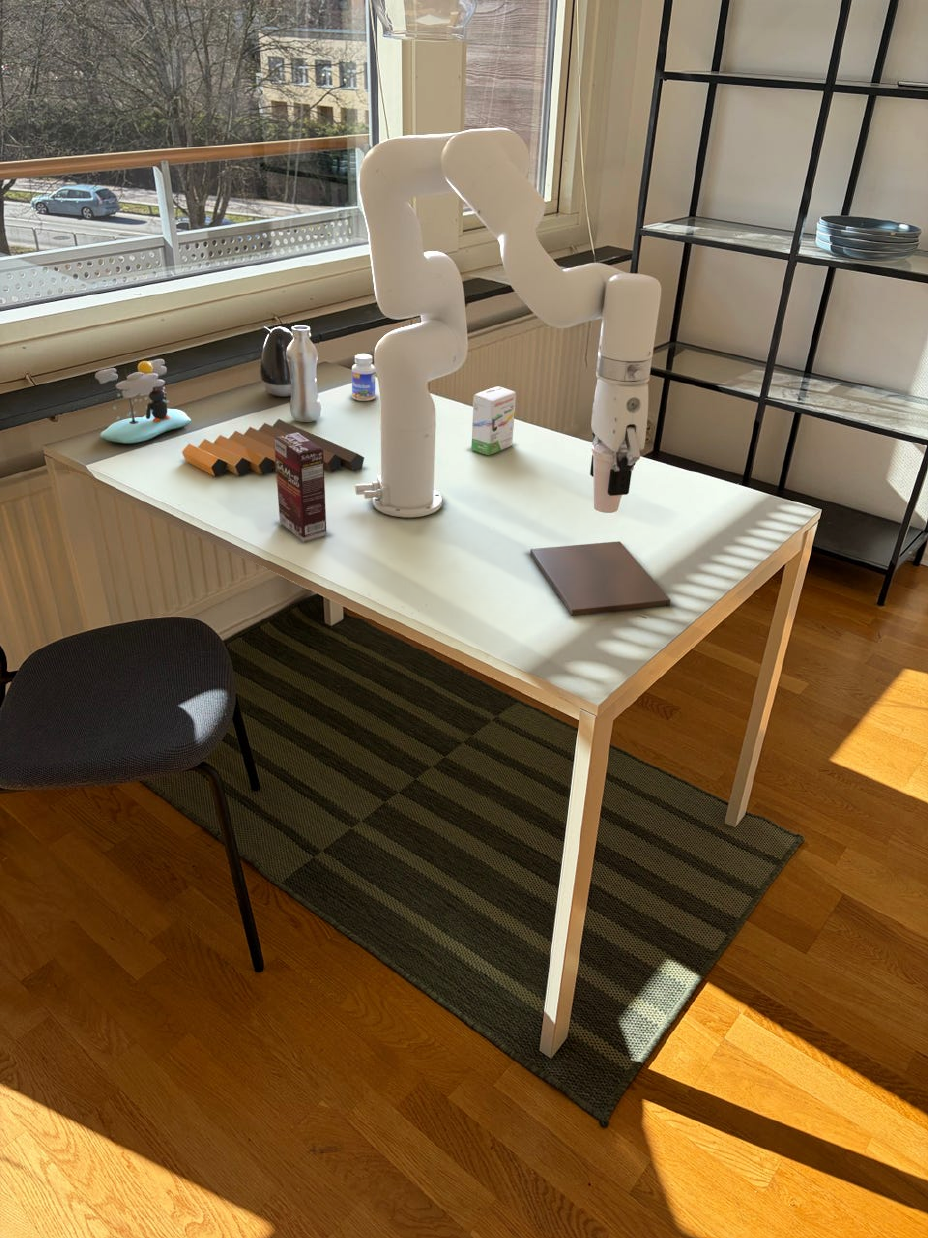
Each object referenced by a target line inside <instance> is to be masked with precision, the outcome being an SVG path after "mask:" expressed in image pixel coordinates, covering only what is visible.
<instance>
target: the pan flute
mask: <svg viewBox="0 0 928 1238" xmlns="http://www.w3.org/2000/svg"><path fill="white" fill-rule="evenodd" d="M296 432H298V433H299V434H300V435H302V436H303V437H305V438H306V439H308V440H309V441H311V442H312V443H314V444H315V445H317V446H318V447H321V448H322V449H323V458H324V471H327V472H330V473H333V472H336V471H339V470H341V467H343V468H345V469H348V470H350V471H351V472H356V471H359V470H362V469H363V467H364V466H363V465H364V461H365V457H364V456H362V455H361V454H359V453H358V452H355V451H353V450H350V449H348V448H345V447H343V446H341V445H339V444H336V443H334V442H333V441H330V440H327V439H325V438H323V437H320V436H318V435H316V434H314V433H311V432H310V431H307V430H305V429H302V428H301V427H298V426H296V425H294V424H291V423H289V422H286V421H285V420H282V419H280V418H278V419H276V421H275V422H274V424H273V425H271V424H268V423H266V422H263V424H262V425H261V426H260V427H259V428H258V429H256V428H254V427H251V426H249V427H248V429H246V430H245V432H244V433H242V432H239V431H237V430H235V431H233V433H232V434H231V435H230V436H229V438H228V437H226V436H224V435H222V434H220V435H219V436H217V438H216V439H215V441H213V442H212V441H210V440H207V439H205V438H204V440H202V442H200V444H199V445H198V446H195V445H193V444H191V443H188V444H187V445H186V446H185V447H184V448H183V450H182V451H181V454H182V456H183V459H184V460H185V462H186V463H188V464H191V465H193V466H194V467H196V468H198V469H200V470H202V471H203V472H205V473H206V474H209V475H211V476H212V477H220V476H222V475H226V471H229V472H231V473H233V474H234V475H237V476H238V477H240V476H243V475H246V474H249V472H250V470H252V471H253V472H255V473H257V474H259V475H261V476H263V475H266V474H269V473H270V474H271V473H272V471H273V469H274V470H276V459H275V445H274V438H275V437H278V436H282V435H286V434H291V433H296Z"/></svg>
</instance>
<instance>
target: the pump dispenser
mask: <svg viewBox="0 0 928 1238" xmlns="http://www.w3.org/2000/svg"><path fill="white" fill-rule="evenodd" d="M261 331H262V332H263V333H264V334H265V335H266V338H265V341H264V344H263V348H262V352H261V357H260V366H259V379H260V381H261V382H262V385H263V388H265V390H266V391H267V392H268V393H270V394H271V395H273V396H276V397H291V378H290V371H289V366H288V361H287V356H286V351H287V348H288V346H289V344H290V343H291V341H292V340H293V337H292V331H290V330H289V329H288V328H286V327H283V326H277V327H274V328H271V329H269V328H268V327H266V326H263V327H262V328H261Z"/></svg>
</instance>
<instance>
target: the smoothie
mask: <svg viewBox="0 0 928 1238" xmlns="http://www.w3.org/2000/svg"><path fill="white" fill-rule="evenodd" d="M619 449H627V446H626V445H619ZM590 453H591V456H592V455H593V477H592V478H593V479H592V480H593V509H594V510H595V511H597V512H600V513H604V514H612V513H616V512H617V511H618V510H619V507H620V503H621V499H622V496H623V495H615V496H610V495H609V494H608V485H609V477H610V469H613V451H612V450H611V449H610V448H608V447H607V446H606V445H605V444H604V443H603V442H602V441H600V442H597V443H595V444H593V446H592V445H591V451H590ZM626 455H627V453H619V462H620V460H621V459H622V458H623V457H626Z"/></svg>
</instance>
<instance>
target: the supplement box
mask: <svg viewBox="0 0 928 1238" xmlns="http://www.w3.org/2000/svg"><path fill="white" fill-rule="evenodd" d="M274 445H275V459H276V469H275V471H276V473H275V474H276V483H277V484H276V485H277V486H276V487H277V488H276V489H277V500H278V502H277V503H278V516H279V524H280V525H282V526H283V527H284V528H286V529H287V530H289V531H290V532H291V533H293V535H295V536H296V537H297V538H298V539H300V540H301V541H302V542H303V543H304V542H307V541H311V540H315V539H318V538H322V537H325V536H327V533H328V532H327V515H326V514H327V513H326V512H327V511H326V489H325V487H326V486H325V485H326V484H325V469H324V458H323V449H322V448H321V447H318V446H317V445H315V444H314V443H312V442H311V441H309V440H308V439H306V438H305V437H303V436H302V435H300V434H299V433H298V432H296V433H291V434H286V435H282V436H278V437H275V438H274Z"/></svg>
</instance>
